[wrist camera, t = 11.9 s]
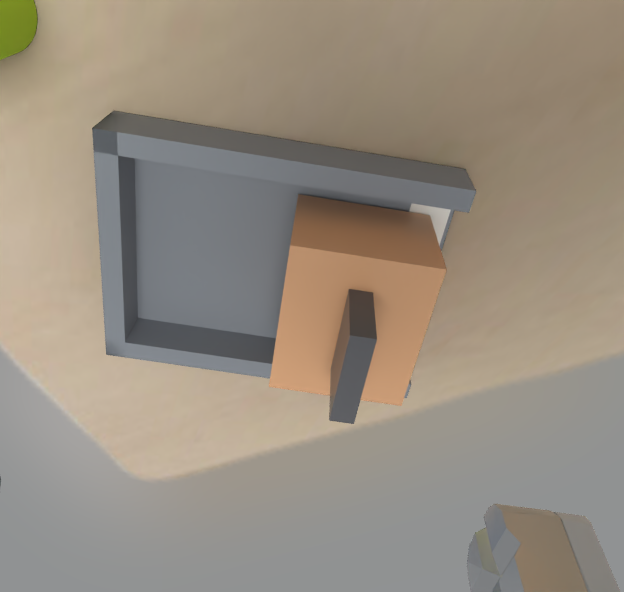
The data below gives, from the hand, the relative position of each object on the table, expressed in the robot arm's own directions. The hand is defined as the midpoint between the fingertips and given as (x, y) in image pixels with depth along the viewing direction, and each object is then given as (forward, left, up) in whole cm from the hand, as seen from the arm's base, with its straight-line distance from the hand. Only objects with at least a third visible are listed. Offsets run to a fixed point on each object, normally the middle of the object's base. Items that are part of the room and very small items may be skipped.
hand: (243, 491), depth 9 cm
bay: (+1, +15, -34) cm, 37 cm away
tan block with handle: (-5, +15, -33) cm, 37 cm away
